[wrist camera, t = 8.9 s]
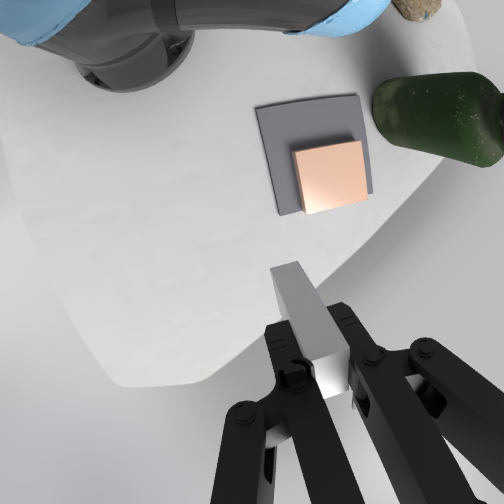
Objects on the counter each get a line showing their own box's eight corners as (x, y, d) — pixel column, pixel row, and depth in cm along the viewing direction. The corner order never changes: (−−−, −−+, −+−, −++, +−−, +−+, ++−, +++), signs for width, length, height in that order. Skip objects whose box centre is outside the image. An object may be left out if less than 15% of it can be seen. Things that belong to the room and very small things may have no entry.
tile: (295, 152, 31) (361, 140, 31) (291, 151, 33) (354, 139, 33) (306, 214, 35) (367, 199, 35) (302, 210, 36) (361, 195, 37)
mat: (255, 109, 30) (256, 109, 30) (357, 95, 31) (359, 95, 30) (279, 214, 37) (280, 216, 36) (371, 192, 37) (372, 193, 37)
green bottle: (362, 128, 33) (526, 160, 10) (380, 66, 29) (534, 50, 7) (413, 157, 36) (553, 210, 13) (430, 100, 32) (568, 120, 9)
